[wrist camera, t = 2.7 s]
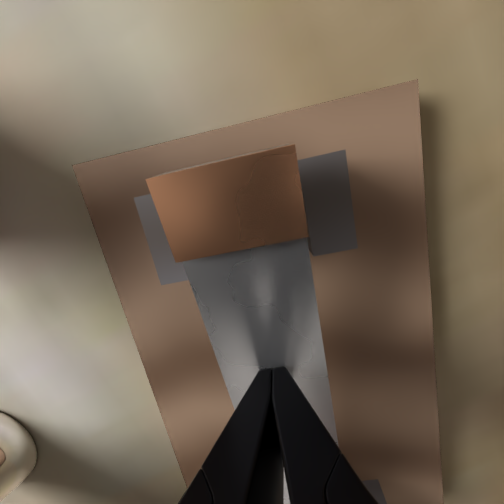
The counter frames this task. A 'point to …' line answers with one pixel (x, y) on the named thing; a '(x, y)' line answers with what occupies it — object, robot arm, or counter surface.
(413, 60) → the counter surface
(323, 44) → the counter surface
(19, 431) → the beer glass
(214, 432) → the latch board
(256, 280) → the latch arm
